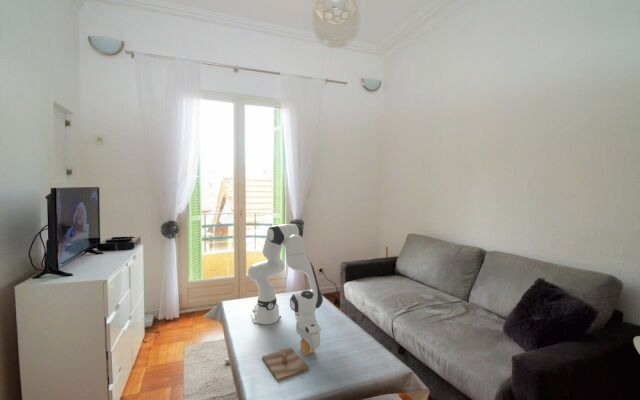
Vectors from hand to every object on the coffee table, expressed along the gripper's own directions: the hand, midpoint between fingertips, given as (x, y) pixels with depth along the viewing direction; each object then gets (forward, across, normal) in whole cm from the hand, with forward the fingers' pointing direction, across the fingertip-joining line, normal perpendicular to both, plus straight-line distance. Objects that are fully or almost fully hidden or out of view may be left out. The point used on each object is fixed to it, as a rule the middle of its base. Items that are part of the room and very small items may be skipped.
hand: (307, 347), depth 158 cm
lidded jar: (+2, -29, +13) cm, 32 cm away
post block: (+2, +4, -15) cm, 16 cm away
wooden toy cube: (+2, 0, 0) cm, 2 cm away
